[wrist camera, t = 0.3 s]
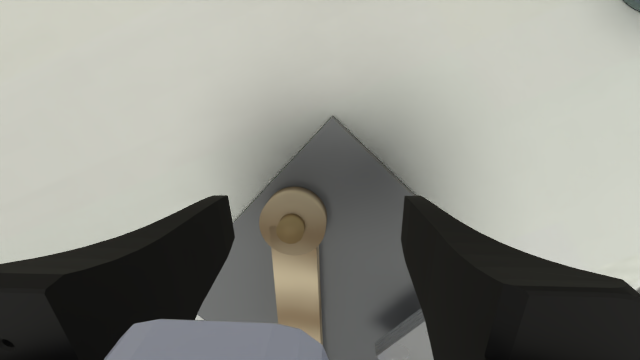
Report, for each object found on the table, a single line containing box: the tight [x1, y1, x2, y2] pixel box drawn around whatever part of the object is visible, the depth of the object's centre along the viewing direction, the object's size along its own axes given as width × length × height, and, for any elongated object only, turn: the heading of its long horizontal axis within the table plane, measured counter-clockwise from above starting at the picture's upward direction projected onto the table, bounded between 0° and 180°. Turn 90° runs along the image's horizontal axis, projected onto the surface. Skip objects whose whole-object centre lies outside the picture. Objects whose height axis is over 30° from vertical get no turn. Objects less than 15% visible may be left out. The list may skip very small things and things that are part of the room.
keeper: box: [375, 309, 434, 360], centre depth 22 cm, size 8×5×4 cm, turn 47°
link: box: [259, 187, 327, 345], centre depth 22 cm, size 16×5×2 cm, turn 2°
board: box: [197, 116, 421, 360], centre depth 25 cm, size 20×24×1 cm
